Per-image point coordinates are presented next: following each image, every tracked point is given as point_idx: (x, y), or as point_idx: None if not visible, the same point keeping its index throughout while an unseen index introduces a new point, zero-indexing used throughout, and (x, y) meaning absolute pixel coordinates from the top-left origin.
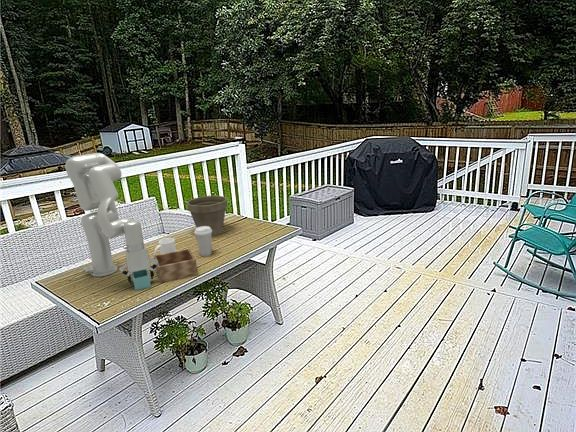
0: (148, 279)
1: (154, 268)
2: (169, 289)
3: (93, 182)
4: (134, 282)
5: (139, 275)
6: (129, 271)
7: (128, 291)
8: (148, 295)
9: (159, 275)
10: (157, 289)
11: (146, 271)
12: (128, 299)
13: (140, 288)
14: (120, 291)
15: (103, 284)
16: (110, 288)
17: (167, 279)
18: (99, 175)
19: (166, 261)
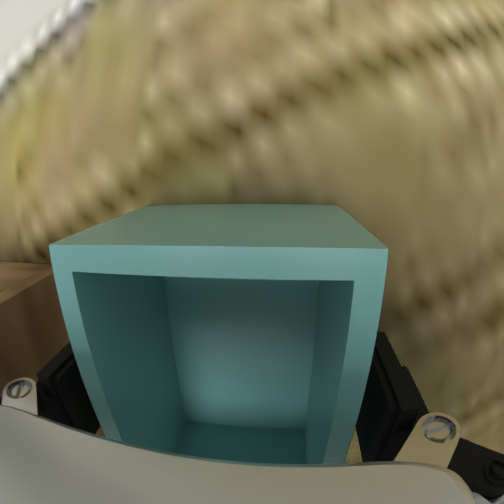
0: (104, 226)
1: (1, 399)
2: (20, 80)
3: None
4: (354, 227)
5: (246, 459)
6: (456, 475)
7: (410, 230)
8: (199, 8)
9: (11, 296)
10: (94, 113)
11: (121, 436)
12: (416, 30)
13: (270, 205)
14: (470, 277)
15: (492, 438)
16: (498, 373)
17: (10, 268)
18: None
19: None
